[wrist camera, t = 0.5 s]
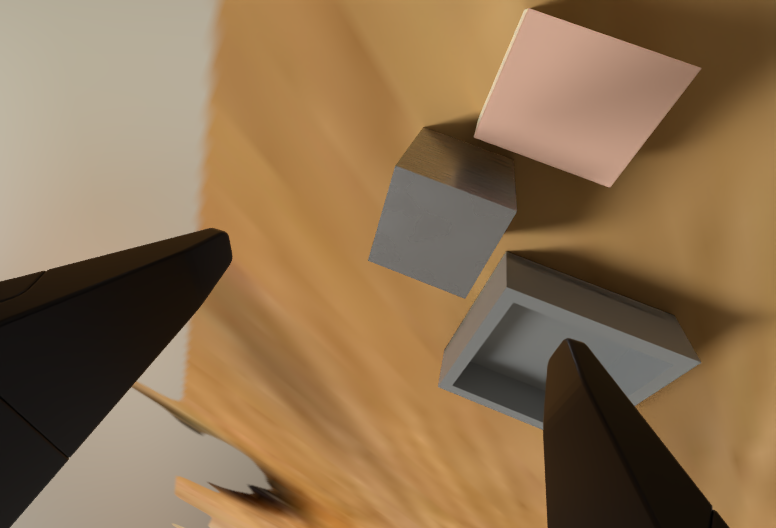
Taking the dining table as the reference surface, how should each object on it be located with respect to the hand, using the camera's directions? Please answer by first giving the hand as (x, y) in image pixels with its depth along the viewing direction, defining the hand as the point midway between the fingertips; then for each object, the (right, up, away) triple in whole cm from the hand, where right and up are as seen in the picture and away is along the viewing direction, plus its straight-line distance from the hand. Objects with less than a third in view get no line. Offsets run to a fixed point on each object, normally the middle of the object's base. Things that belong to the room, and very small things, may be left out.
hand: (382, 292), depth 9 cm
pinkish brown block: (+8, +9, +7) cm, 14 cm away
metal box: (+4, +5, +11) cm, 12 cm away
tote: (+11, -4, +15) cm, 19 cm away
